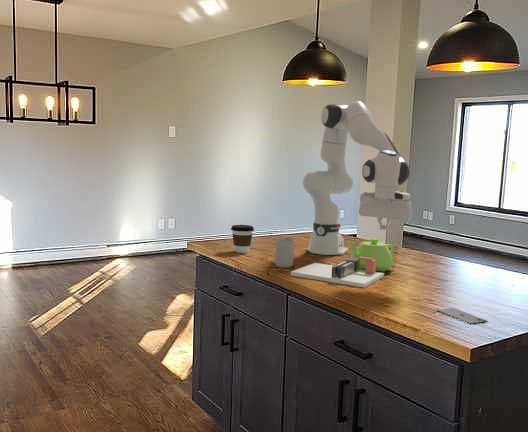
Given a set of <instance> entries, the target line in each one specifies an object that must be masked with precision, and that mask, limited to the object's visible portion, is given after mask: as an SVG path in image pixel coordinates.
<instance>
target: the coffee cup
mask: <svg viewBox="0 0 528 432" xmlns="http://www.w3.org/2000/svg"><path fill="white" fill-rule="evenodd" d="M231 230H232V243H233V246H234V251H235V252H236V253H239V254H247V253H249V251H250V248H251V247H250V246H251V243H252V237H253V231H255V228H254V225H249V224H234V225H233V224H232V225H231V228H230V231H231Z"/></svg>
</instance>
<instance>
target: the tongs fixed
mask: <svg viewBox="0 0 528 432" xmlns="http://www.w3.org/2000/svg"><path fill="white" fill-rule="evenodd" d="M343 261H348V263H347V264H345V265H342V266H340V267H337V277H338V278H342V277H344V276H345V275H348V274H350V273H352V272H357V271H359V269H360V268H359V267H360V259H358V258H352V257H351V256H349V257H346V258H344V259H343Z"/></svg>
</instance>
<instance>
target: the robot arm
mask: <svg viewBox="0 0 528 432" xmlns="http://www.w3.org/2000/svg"><path fill="white" fill-rule="evenodd" d="M321 123H322V124H323V126H324V127H325V129H324V132H323V136H322V141H321V149H320V158H321V160H322V161H323V162H324V163H326V165H327V170H314V171H309V172H307V173H306V174H305V175H304V177H303V180H302V181H303V182H302V185H303V188H304V191H306V193H308V194H309V195H310V197H311V200H312V201H313V205H314V206H313V207H314V222H313V224H312V227H313V228H312V229H313V230H312V232H311V233H310V236H309V243H308V244H309V245H308V247H306V251H308V252H310V253H311V254H316V255H317V254H318V255H325V256H333V255H334V256H335V255H336V256H337V255H338V256H344V255H345V254H346V253H347V252H348V251H349V248H348V247H345V246H344V245H345V243H344V242H345V239H344V237H343V236H342V234H341V233H340V232H339V231H340V229H341V227H342V226H341V225H342V224H341V223H339V207H338V204H335V203H334V202H333V201H332V199H331V195H342V194H346V193H348V192H350V191H351V190H352V188H353V184H354V179H353V177H352V175H351V174H350V173H349V172H348V170H347V168H346V162H345V155H346V149H347V140H348V134H349V135H350V138H351V139H352V140H353V142H355V143H357V144H360V145H363V146H367V147H370V148H373V149H376V150H377V151H378V152H377V155H376V156H375V157H373V158H370V159H368V160H366V161H365V162H364V164H363V166H362V172H361V173H362V174H361V175H362V177H363V179H364V180H365V182H367V183H369V184H374V192H367V191H366V192H363V193H361V194H360V196H359V202H360V203H359V208H358V214H359V215H360V216H361V217H369V218H370V217H371V218H377V223H378V224H379V230H384V231H389V230H390V229H389V226H390V225H391V223H392V221H393V220H403V221H410V220H411V219H412V218H413V203H412V202H411V200H410V199H411V198H412V197H411V194H410V193H408V192H406V191H403V190H401V189H399V187H400V186H401V185H403V184H404V183H405V182H407V180H408V179H409V177H410V167H409V165H408V163H407V162H406V160H404V158H403V157H402V156H401V155H400V153H399V152H398V150H397V148H396V147H395V145H394V142H393V141H392V140H391V138H390V137H389V135H388V134H387V133H386V132H385V131H383V130H382V129H381V128H380V127H379V126H378V125H377V124H376V122H375V120H374V118H373V116H372V114H371V112H370V110H369V109H368V107H367V106H366V105H365V103H363V102H362V101H353V102H350V103H349V104H334V103H333V104H332V103H331V104H327V105H325V106H324V108H323V110H322V113H321ZM384 219H386V222H387V223H386V224H384V223H383V220H384Z"/></svg>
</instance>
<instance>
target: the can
mask: <svg viewBox="0 0 528 432" xmlns="http://www.w3.org/2000/svg"><path fill="white" fill-rule="evenodd" d="M294 248H295V242H294V240H293V238H292V237H284V236H282V237H278V238H277V240H276V242H275V254H274V255H275V257H274V258H275V259H274V260H275V261H274V265H275V266H276V267H277V268H281V269H289V268H291V267H292V266H294V250H295V249H294Z"/></svg>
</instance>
